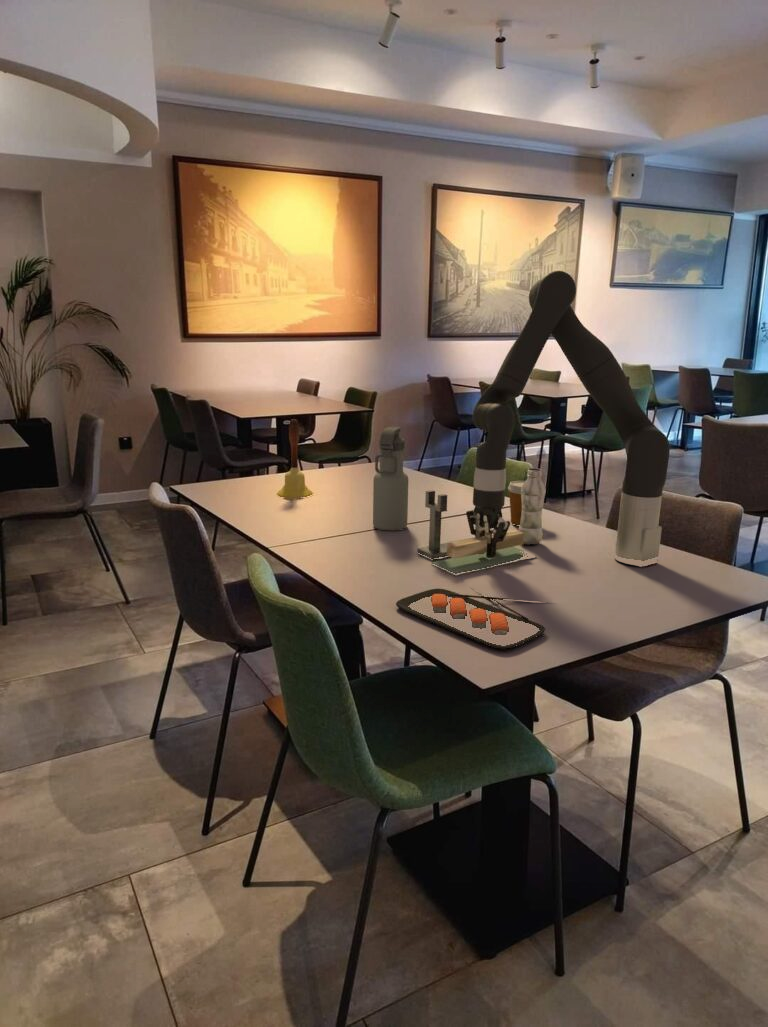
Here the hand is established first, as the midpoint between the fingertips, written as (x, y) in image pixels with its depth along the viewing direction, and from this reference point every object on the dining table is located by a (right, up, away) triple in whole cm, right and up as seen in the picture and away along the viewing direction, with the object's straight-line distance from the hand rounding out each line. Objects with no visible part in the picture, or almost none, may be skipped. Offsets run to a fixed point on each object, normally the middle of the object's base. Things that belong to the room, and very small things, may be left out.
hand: (485, 555), depth 175 cm
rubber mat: (0, -2, 0) cm, 2 cm away
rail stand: (-6, +1, +8) cm, 10 cm away
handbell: (-55, +16, +65) cm, 86 cm away
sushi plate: (-3, -10, -30) cm, 32 cm away
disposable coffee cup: (+15, +7, +34) cm, 38 cm away
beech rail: (0, +1, 0) cm, 1 cm away
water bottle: (-23, +6, +28) cm, 37 cm away
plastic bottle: (+14, +2, +15) cm, 21 cm away
